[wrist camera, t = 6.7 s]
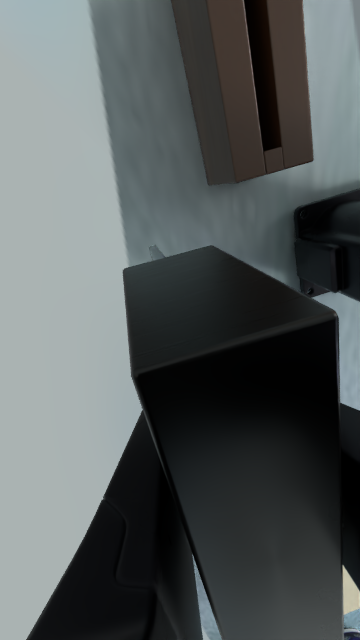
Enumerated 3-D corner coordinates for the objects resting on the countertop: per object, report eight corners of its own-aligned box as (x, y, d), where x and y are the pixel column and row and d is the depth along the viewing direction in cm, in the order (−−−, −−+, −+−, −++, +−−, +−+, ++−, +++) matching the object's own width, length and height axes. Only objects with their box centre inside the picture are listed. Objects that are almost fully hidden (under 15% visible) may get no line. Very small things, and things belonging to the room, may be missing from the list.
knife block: (241, -48, 16) (293, -148, 11) (268, 168, 20) (314, 160, 15) (164, -30, 15) (185, -125, 11) (208, 185, 19) (236, 183, 15)
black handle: (178, 225, 13) (341, 309, 3) (213, 386, 16) (346, 650, 7) (119, 240, 12) (129, 374, 3) (167, 400, 16) (239, 691, 6)
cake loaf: (374, 494, 34) (409, 535, 30) (374, 547, 38) (405, 590, 34) (298, 522, 34) (324, 568, 30) (306, 574, 38) (329, 620, 34)
